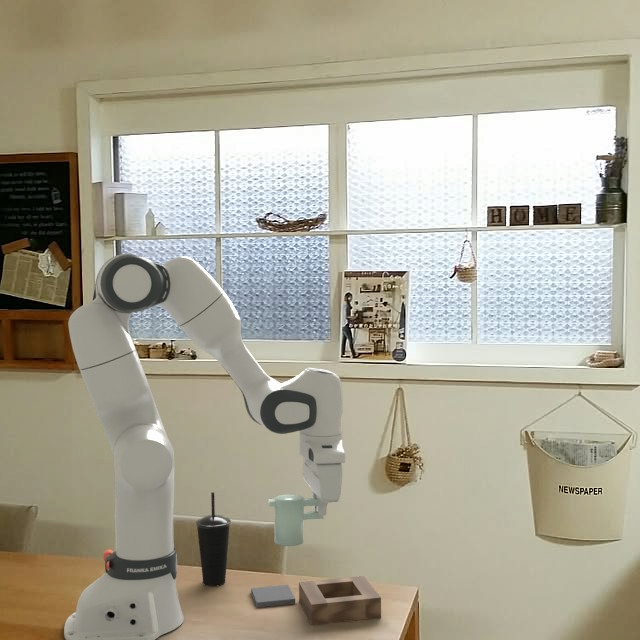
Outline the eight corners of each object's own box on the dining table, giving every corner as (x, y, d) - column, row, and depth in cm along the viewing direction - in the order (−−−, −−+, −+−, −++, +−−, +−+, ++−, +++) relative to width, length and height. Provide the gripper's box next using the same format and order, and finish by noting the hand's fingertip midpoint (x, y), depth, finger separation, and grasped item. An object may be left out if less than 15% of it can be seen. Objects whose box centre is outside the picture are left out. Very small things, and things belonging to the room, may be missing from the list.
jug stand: (311, 624, 159) (311, 604, 159) (299, 601, 171) (298, 582, 171) (381, 617, 163) (381, 597, 162) (364, 594, 174) (364, 576, 174)
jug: (271, 547, 166) (271, 503, 166) (266, 538, 172) (266, 495, 172) (325, 544, 169) (326, 500, 168) (319, 535, 174) (319, 493, 174)
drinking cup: (225, 590, 178) (224, 498, 176) (191, 587, 179) (190, 496, 178) (236, 577, 185) (234, 489, 184) (203, 575, 187) (202, 487, 185)
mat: (256, 607, 168) (256, 602, 168) (251, 592, 176) (251, 588, 176) (295, 603, 170) (295, 598, 170) (288, 589, 178) (288, 584, 178)
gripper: (296, 437, 180) (295, 500, 181) (316, 457, 160) (315, 527, 161) (324, 436, 181) (323, 499, 182) (347, 456, 161) (346, 526, 162)
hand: (319, 512), depth 171 cm, fingers closed on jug
